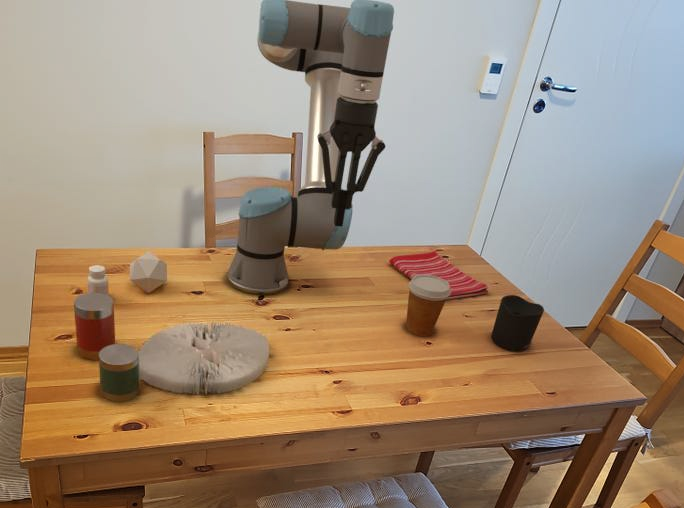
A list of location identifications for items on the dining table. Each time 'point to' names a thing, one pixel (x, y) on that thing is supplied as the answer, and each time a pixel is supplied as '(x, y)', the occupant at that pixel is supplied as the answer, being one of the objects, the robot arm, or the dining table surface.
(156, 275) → the die
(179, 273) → the dining table surface
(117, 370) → the bean tin
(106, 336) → the tomato tin
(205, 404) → the dining table surface
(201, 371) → the spiky fractal disc
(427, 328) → the disposable coffee cup
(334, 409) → the dining table surface
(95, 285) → the pill bottle
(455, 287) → the dish towel
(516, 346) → the pen holder
